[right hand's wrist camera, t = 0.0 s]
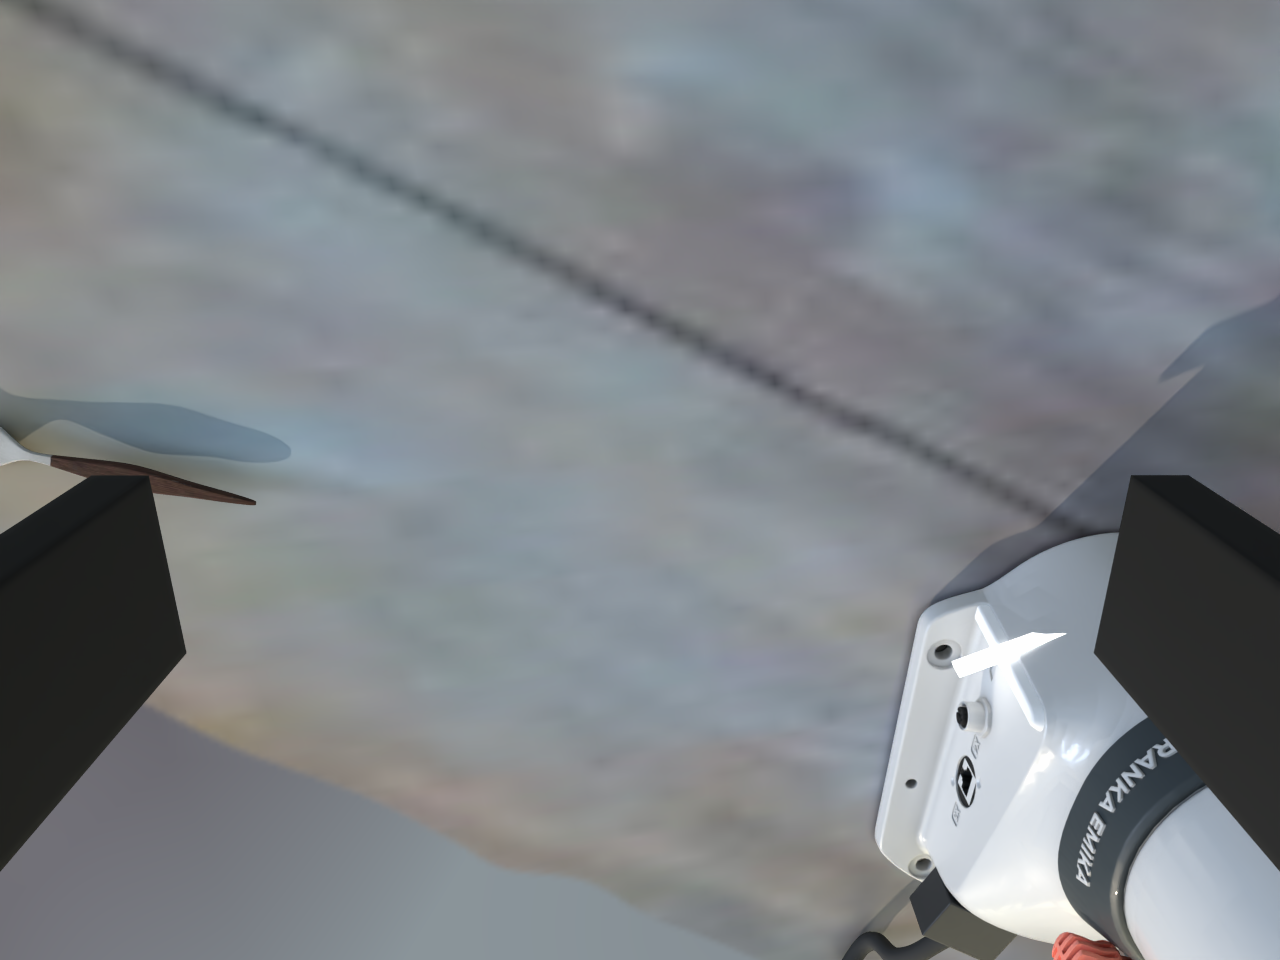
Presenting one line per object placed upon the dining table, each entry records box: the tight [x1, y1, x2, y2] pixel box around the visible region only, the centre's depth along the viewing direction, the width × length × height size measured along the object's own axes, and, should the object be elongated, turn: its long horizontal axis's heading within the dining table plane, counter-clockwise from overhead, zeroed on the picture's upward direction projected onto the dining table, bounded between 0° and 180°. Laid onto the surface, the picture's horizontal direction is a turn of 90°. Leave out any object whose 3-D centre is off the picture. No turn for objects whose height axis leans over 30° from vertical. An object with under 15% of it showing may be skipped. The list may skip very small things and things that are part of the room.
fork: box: [0, 426, 256, 505], centre depth 41 cm, size 3×16×2 cm, turn 77°
